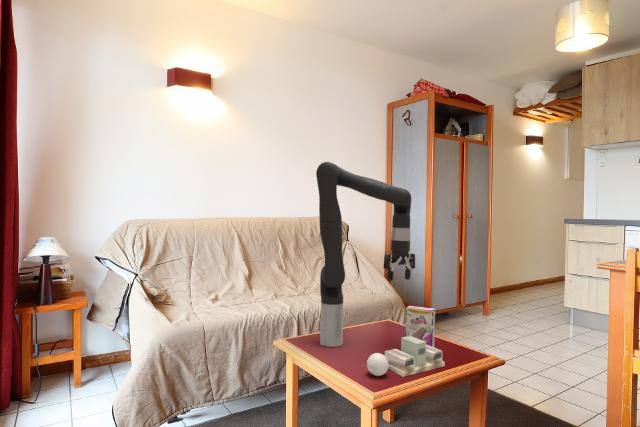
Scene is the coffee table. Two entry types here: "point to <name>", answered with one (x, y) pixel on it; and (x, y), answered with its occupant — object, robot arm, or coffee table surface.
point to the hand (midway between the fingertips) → (399, 279)
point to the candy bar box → (420, 324)
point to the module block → (414, 349)
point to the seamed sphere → (377, 364)
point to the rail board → (413, 361)
